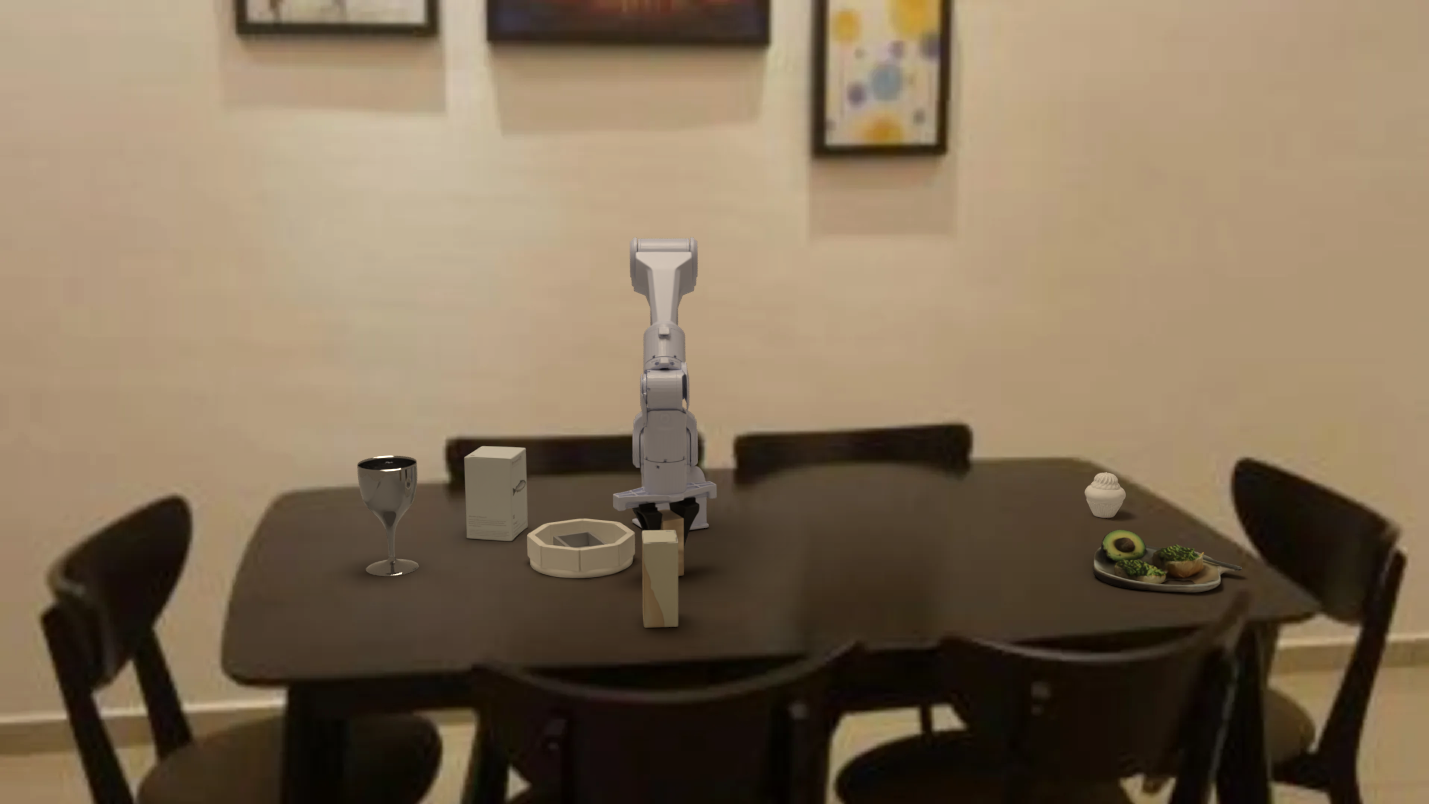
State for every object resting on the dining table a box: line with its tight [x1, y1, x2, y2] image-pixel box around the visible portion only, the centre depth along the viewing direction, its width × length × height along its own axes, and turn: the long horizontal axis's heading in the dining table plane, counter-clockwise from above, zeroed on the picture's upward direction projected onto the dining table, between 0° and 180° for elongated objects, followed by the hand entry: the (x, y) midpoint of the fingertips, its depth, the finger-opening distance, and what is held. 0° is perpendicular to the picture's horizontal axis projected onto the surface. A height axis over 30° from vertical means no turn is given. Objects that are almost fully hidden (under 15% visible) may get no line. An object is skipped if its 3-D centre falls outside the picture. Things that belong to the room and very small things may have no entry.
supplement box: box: [463, 445, 529, 542], centre depth 205 cm, size 7×7×13 cm
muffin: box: [1084, 471, 1127, 519], centre depth 215 cm, size 6×6×7 cm
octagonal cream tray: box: [526, 518, 636, 579], centre depth 193 cm, size 14×14×4 cm
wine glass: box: [356, 455, 420, 577], centre depth 189 cm, size 8×8×15 cm
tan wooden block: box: [658, 509, 685, 577], centre depth 187 cm, size 3×5×8 cm, turn 26°
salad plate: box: [1091, 529, 1243, 593], centre depth 188 cm, size 19×18×5 cm
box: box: [641, 530, 679, 628], centre depth 169 cm, size 5×4×11 cm
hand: (665, 554), depth 188 cm, fingers closed on tan wooden block, 3 cm apart
